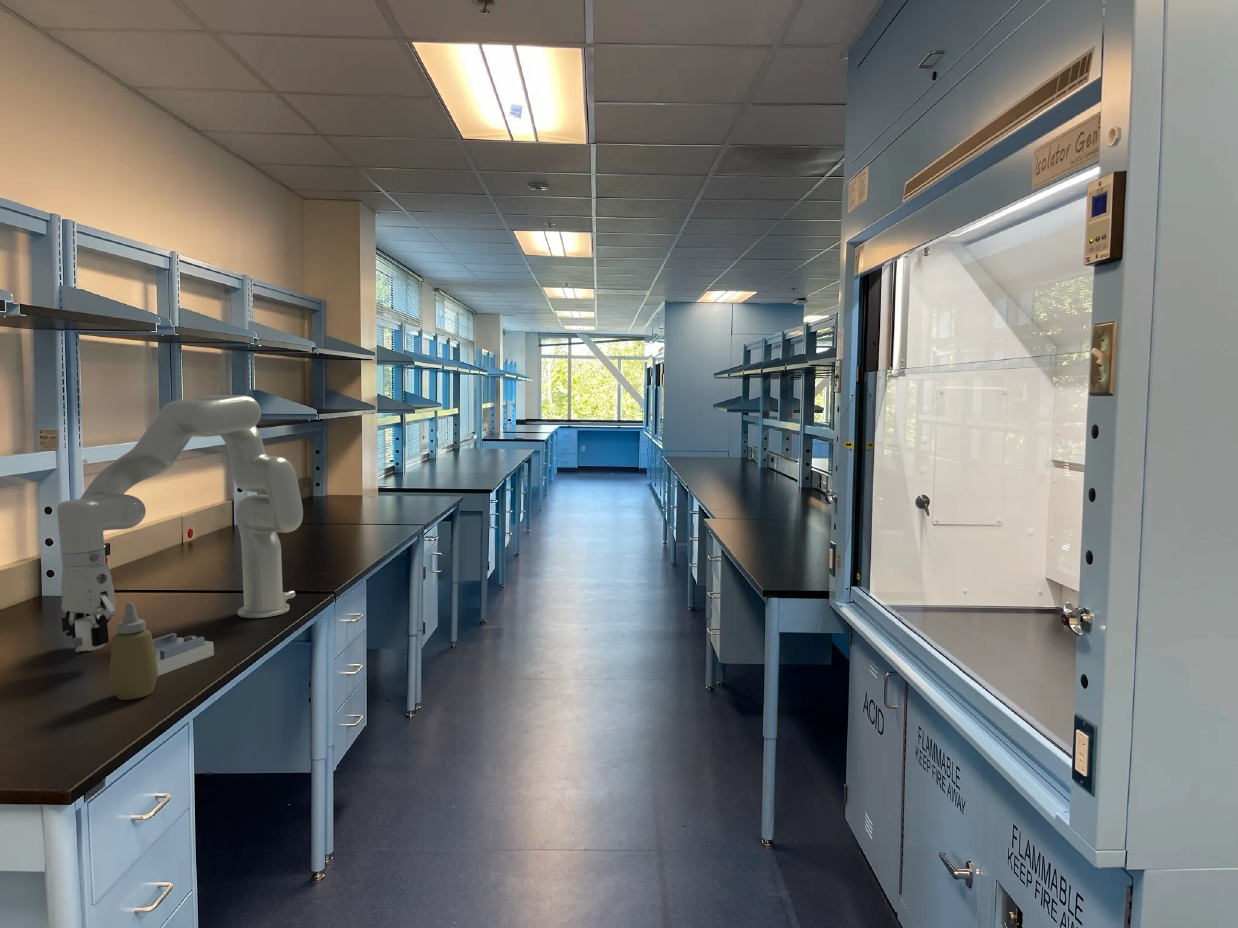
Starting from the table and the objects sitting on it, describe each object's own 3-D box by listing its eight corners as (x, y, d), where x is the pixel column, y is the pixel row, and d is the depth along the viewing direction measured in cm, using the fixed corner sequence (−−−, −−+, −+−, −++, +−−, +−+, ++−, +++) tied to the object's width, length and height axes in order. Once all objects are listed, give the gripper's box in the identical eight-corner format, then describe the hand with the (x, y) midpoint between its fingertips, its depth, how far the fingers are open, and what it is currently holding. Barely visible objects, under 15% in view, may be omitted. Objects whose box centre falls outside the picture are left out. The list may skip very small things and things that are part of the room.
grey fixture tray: (180, 650, 176) (179, 630, 175) (213, 654, 172) (212, 634, 172) (122, 670, 163) (121, 649, 162) (157, 676, 159) (156, 654, 159)
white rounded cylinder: (94, 641, 166) (92, 614, 166) (111, 644, 165) (108, 616, 164) (63, 651, 160) (60, 623, 160) (80, 654, 159) (78, 626, 158)
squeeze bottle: (167, 686, 153) (163, 597, 152) (144, 702, 145) (139, 609, 144) (126, 687, 153) (121, 598, 152) (100, 703, 145) (94, 609, 143)
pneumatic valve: (106, 640, 183) (103, 591, 182) (89, 656, 172) (86, 603, 170) (79, 643, 181) (76, 592, 180) (60, 659, 170) (57, 605, 169)
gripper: (130, 557, 162) (136, 641, 164) (72, 552, 168) (80, 633, 170) (95, 565, 155) (102, 653, 157) (36, 559, 161) (44, 644, 163)
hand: (90, 642), depth 163 cm, fingers closed on white rounded cylinder, 5 cm apart
